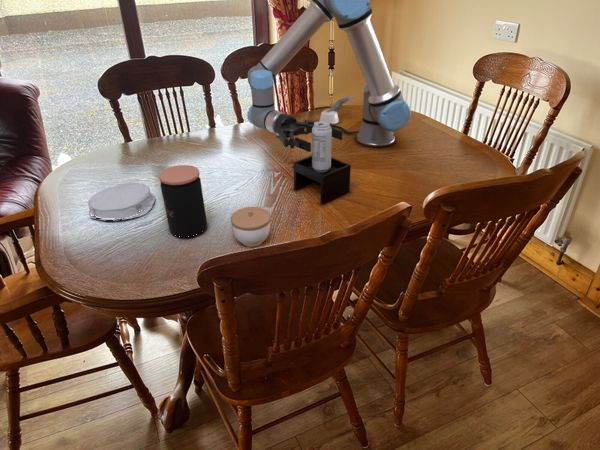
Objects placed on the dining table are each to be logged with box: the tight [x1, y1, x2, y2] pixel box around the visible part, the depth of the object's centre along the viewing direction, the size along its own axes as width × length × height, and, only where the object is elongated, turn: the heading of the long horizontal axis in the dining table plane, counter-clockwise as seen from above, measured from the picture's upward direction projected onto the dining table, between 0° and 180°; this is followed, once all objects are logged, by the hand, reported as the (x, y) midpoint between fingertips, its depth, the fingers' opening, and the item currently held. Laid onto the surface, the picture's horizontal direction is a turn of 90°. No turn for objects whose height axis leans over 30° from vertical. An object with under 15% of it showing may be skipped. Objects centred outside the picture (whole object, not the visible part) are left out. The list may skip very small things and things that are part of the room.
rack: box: [292, 155, 352, 206], centre depth 146 cm, size 14×12×10 cm
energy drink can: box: [311, 120, 333, 172], centre depth 140 cm, size 6×6×15 cm
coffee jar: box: [158, 164, 208, 240], centre depth 125 cm, size 11×11×18 cm
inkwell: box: [318, 95, 355, 125], centre depth 205 cm, size 9×18×10 cm, turn 121°
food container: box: [87, 182, 156, 221], centre depth 140 cm, size 20×20×7 cm
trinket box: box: [230, 206, 272, 248], centre depth 122 cm, size 11×11×9 cm
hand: (326, 141), depth 138 cm, fingers open, 13 cm apart
